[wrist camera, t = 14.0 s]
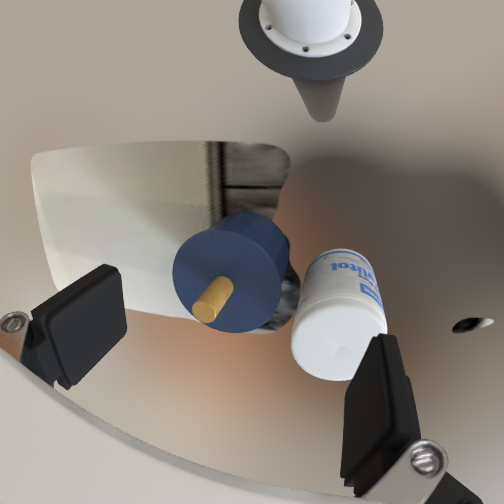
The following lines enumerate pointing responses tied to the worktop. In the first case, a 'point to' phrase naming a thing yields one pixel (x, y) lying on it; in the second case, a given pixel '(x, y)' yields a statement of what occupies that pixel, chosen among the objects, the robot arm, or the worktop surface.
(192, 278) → the lid
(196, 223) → the worktop surface
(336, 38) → the robot arm
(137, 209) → the worktop surface
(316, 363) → the supplement tub
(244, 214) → the tin
